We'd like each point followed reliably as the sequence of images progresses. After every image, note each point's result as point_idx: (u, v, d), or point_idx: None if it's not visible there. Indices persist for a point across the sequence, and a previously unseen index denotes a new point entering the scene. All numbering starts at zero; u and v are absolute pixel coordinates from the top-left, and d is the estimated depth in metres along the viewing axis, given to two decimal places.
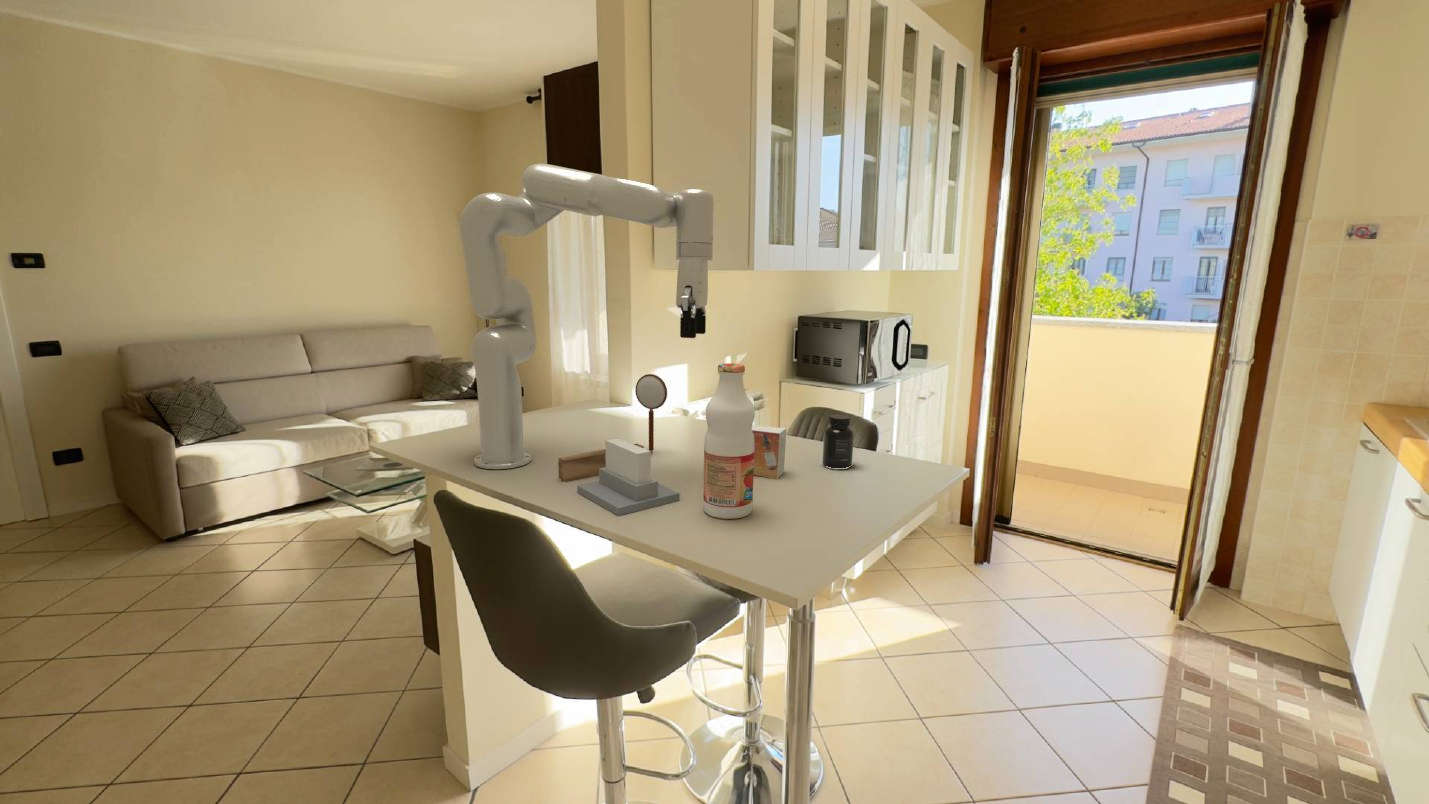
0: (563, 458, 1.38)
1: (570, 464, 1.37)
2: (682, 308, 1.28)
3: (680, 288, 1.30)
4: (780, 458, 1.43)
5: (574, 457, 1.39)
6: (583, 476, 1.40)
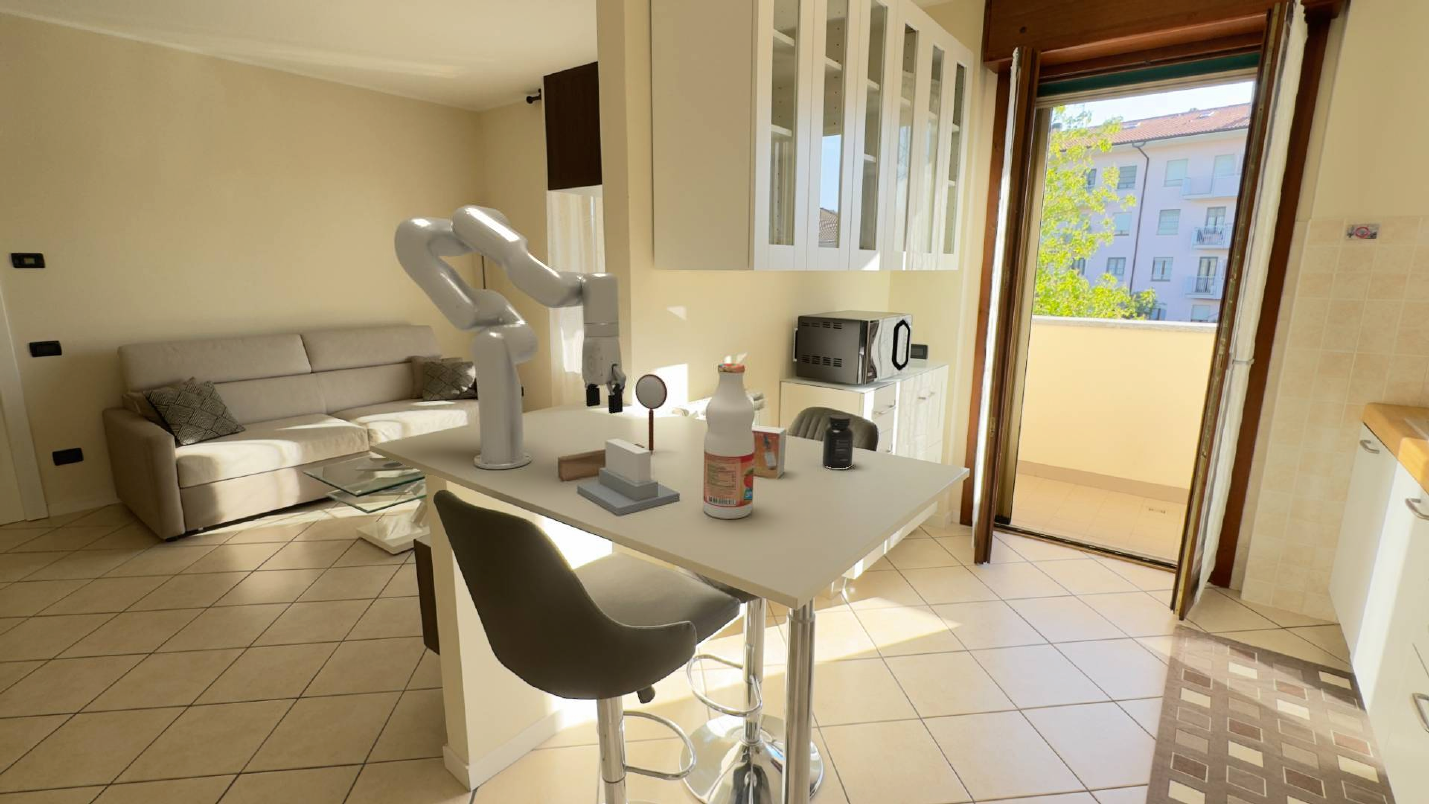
0: (563, 457, 1.38)
1: (570, 464, 1.38)
2: (619, 386, 1.34)
3: (607, 367, 1.35)
4: (780, 458, 1.43)
5: (574, 457, 1.39)
6: (583, 476, 1.40)
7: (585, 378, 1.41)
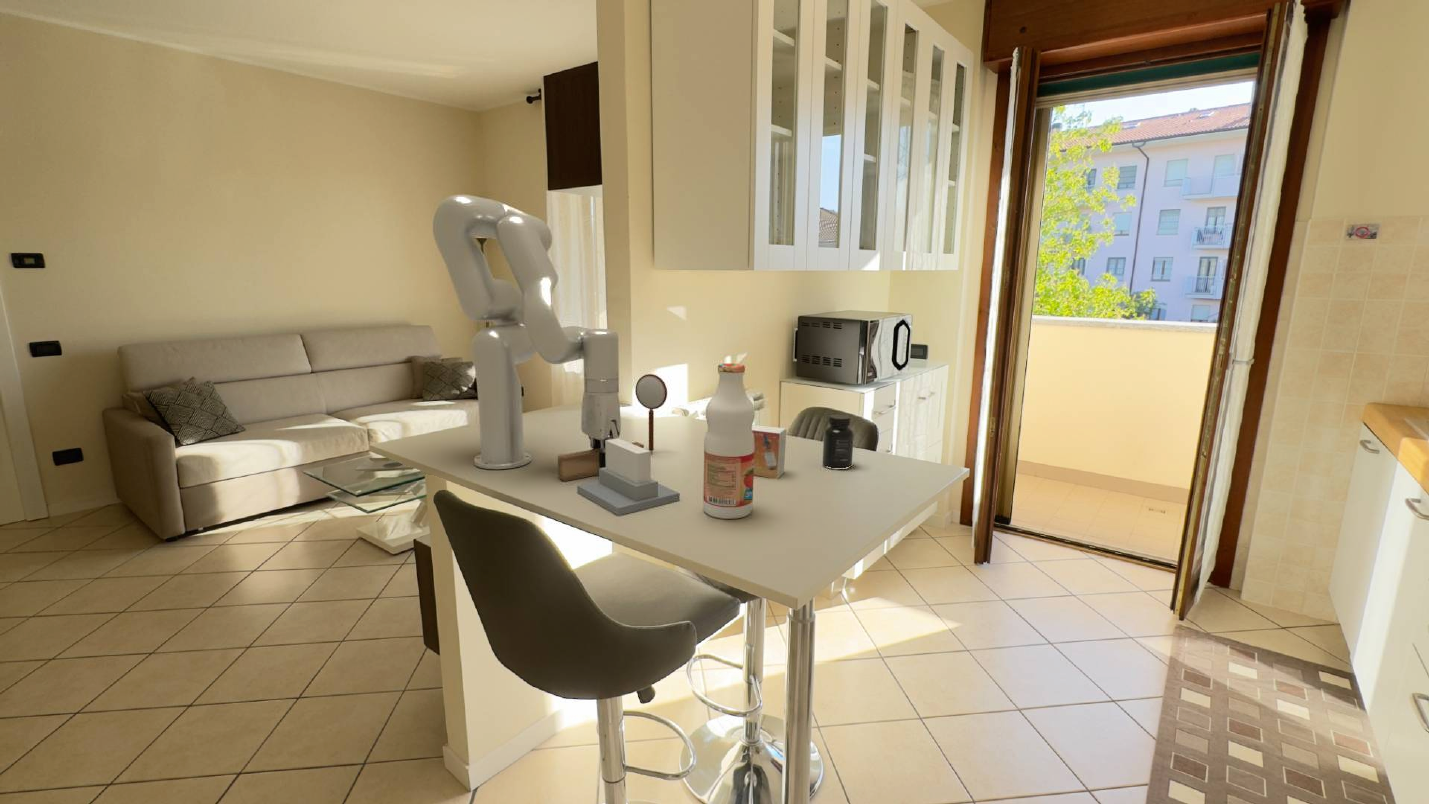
0: (563, 455, 1.38)
1: (570, 462, 1.37)
2: None
3: (606, 423, 1.37)
4: (780, 458, 1.43)
5: (574, 455, 1.39)
6: (583, 474, 1.40)
7: (584, 431, 1.43)
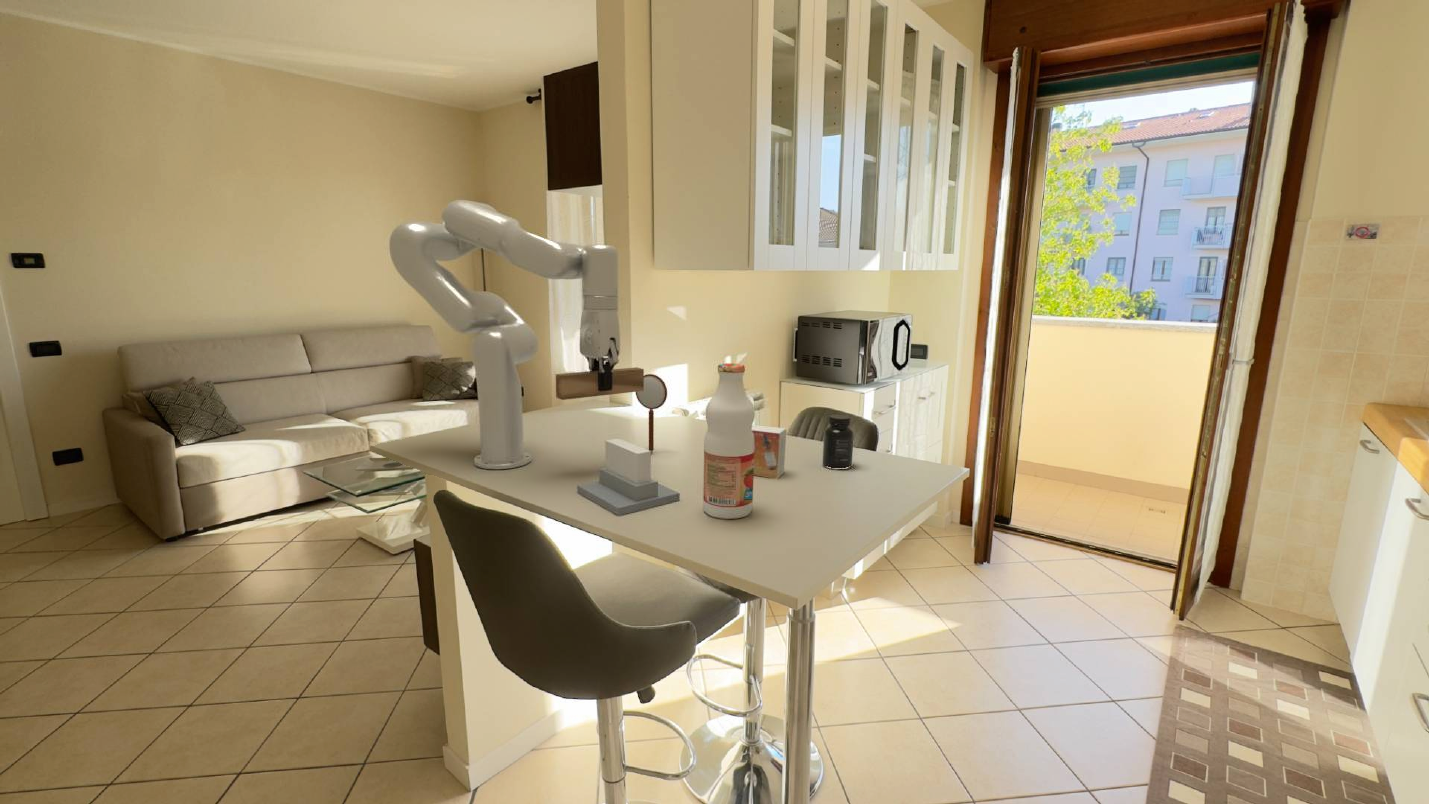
0: (561, 374, 1.35)
1: (568, 380, 1.34)
2: (609, 364, 1.36)
3: (605, 340, 1.34)
4: (780, 458, 1.43)
5: (572, 374, 1.35)
6: (581, 394, 1.36)
7: (583, 352, 1.40)
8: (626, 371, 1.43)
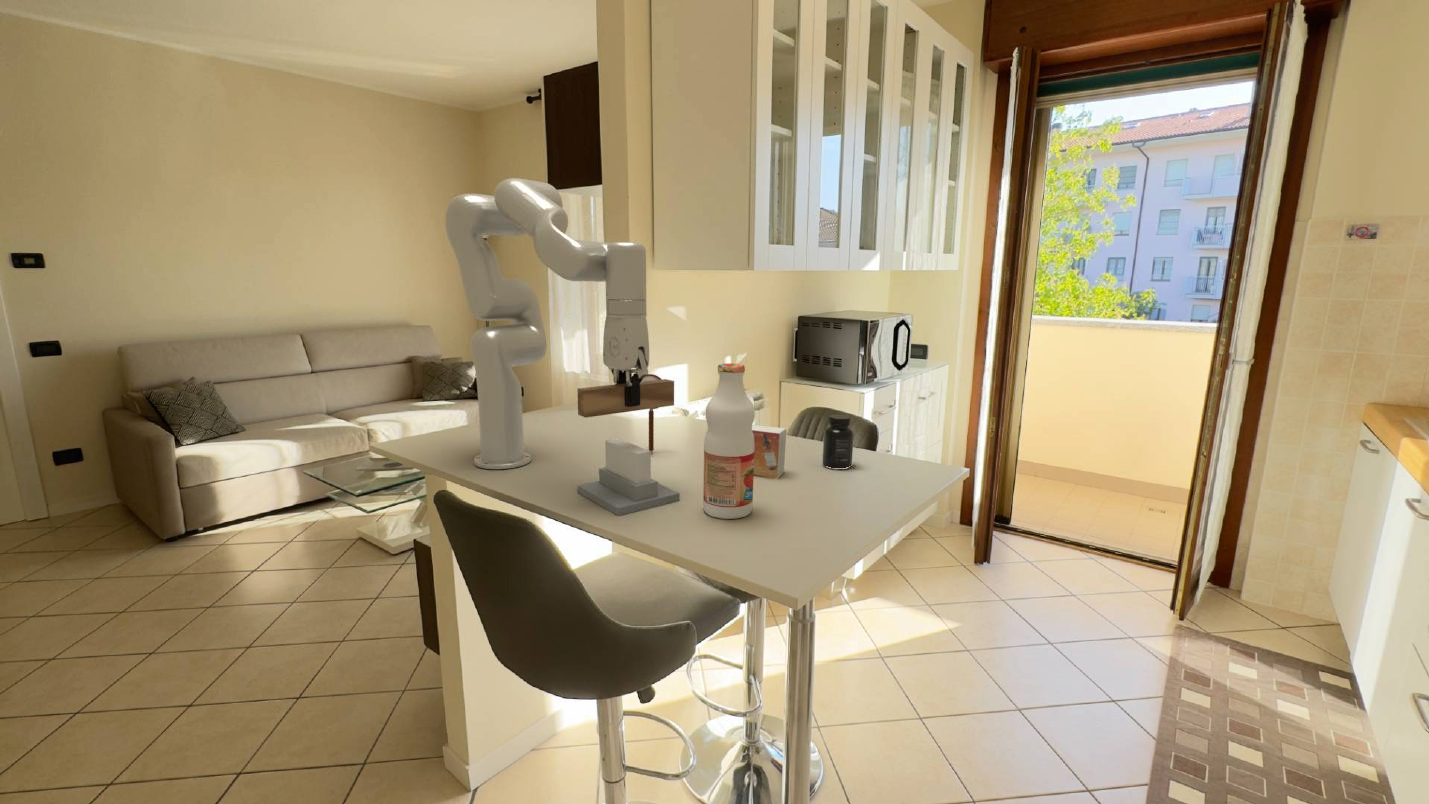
0: (583, 388, 1.19)
1: (592, 395, 1.19)
2: (637, 377, 1.21)
3: (633, 350, 1.19)
4: (780, 458, 1.43)
5: (596, 388, 1.20)
6: (606, 411, 1.21)
7: (607, 363, 1.24)
8: (655, 384, 1.27)
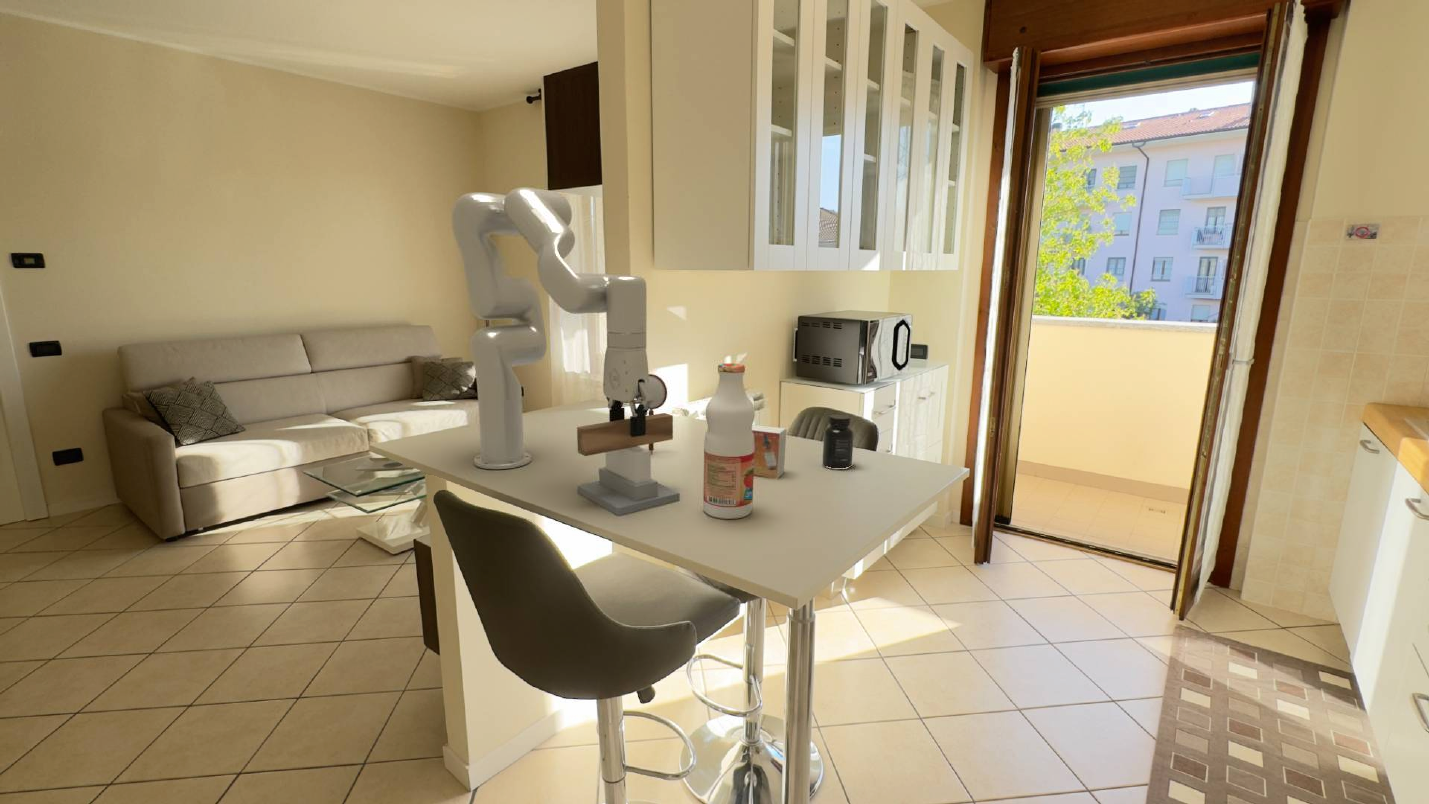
0: (583, 427, 1.21)
1: (591, 434, 1.20)
2: (643, 407, 1.20)
3: (633, 383, 1.20)
4: (780, 458, 1.43)
5: (595, 426, 1.21)
6: (605, 448, 1.22)
7: (607, 394, 1.26)
8: (654, 419, 1.29)
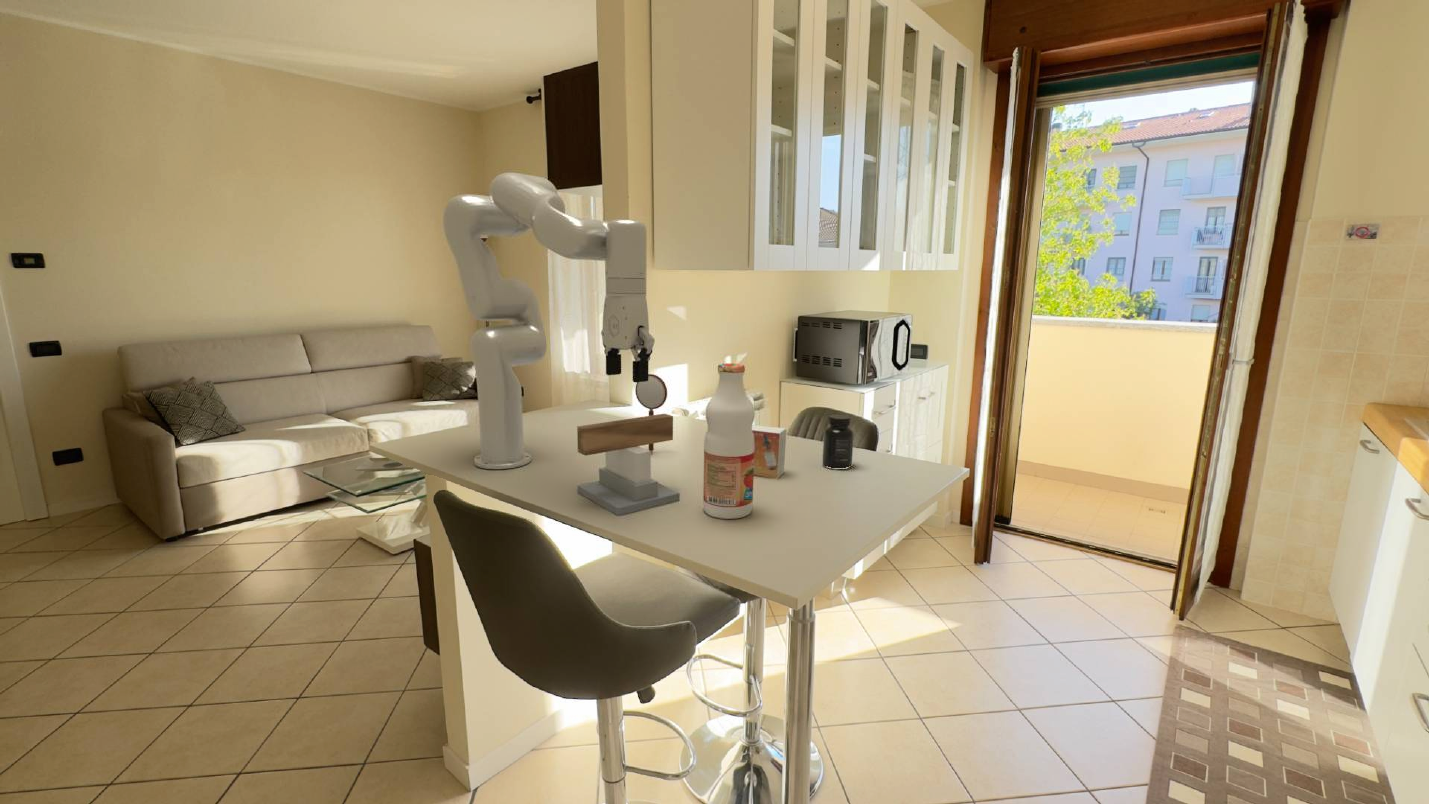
0: (583, 426, 1.21)
1: (592, 434, 1.20)
2: (645, 351, 1.17)
3: (633, 329, 1.18)
4: (780, 458, 1.43)
5: (595, 426, 1.21)
6: (606, 448, 1.22)
7: (606, 342, 1.24)
8: (654, 420, 1.29)
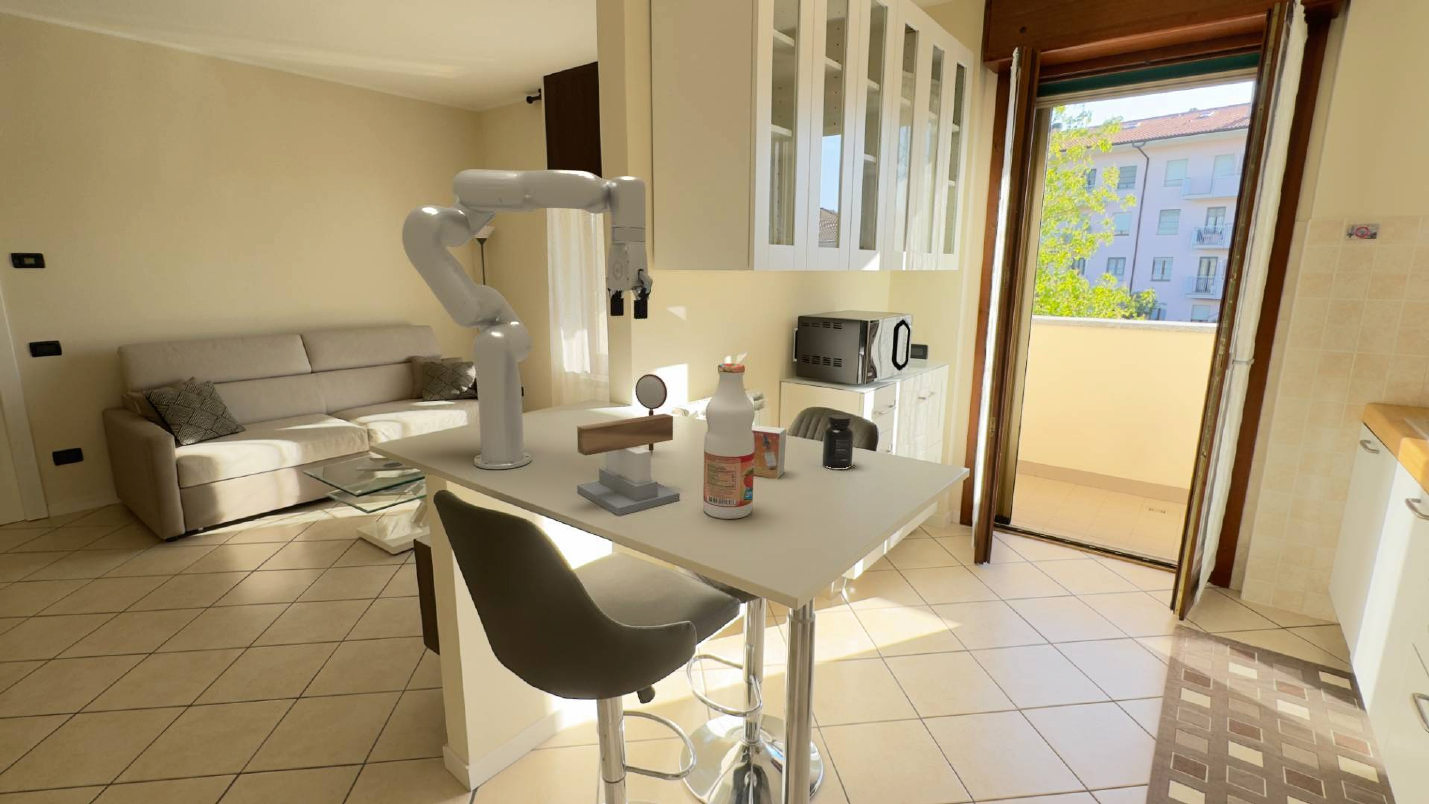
0: (583, 426, 1.21)
1: (592, 434, 1.20)
2: (645, 290, 1.35)
3: (634, 271, 1.35)
4: (780, 458, 1.43)
5: (595, 426, 1.21)
6: (606, 448, 1.22)
7: (610, 285, 1.41)
8: (654, 420, 1.29)
